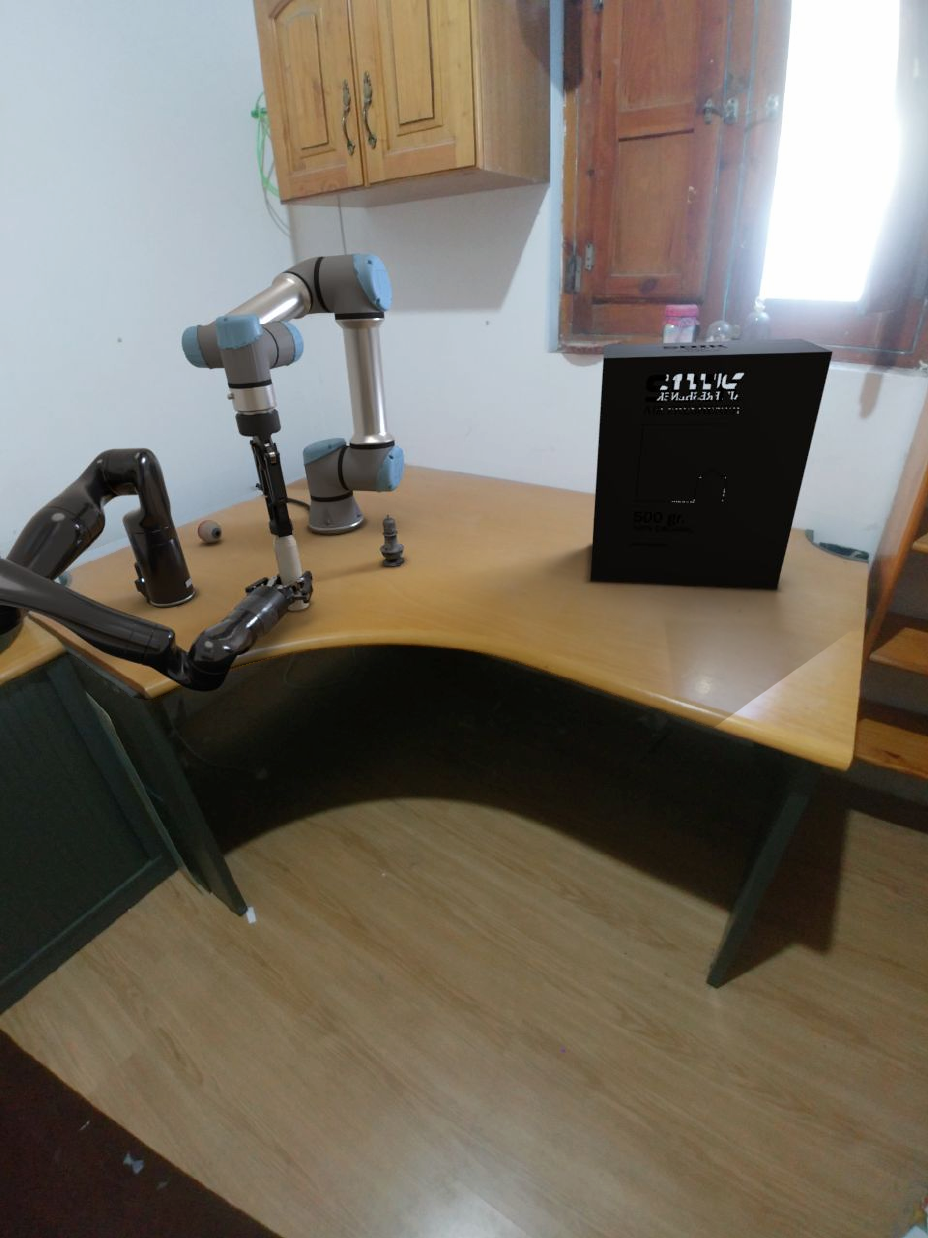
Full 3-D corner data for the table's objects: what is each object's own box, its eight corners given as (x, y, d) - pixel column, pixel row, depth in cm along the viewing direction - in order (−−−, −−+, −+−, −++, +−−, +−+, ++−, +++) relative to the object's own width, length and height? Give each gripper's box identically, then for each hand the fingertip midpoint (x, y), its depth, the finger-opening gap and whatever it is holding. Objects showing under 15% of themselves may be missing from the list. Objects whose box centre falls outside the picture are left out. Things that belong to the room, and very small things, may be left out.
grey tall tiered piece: (401, 567, 143) (396, 519, 137) (378, 566, 144) (371, 518, 138) (408, 556, 148) (403, 510, 142) (385, 556, 149) (379, 509, 143)
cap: (289, 525, 123) (287, 515, 122) (296, 531, 120) (294, 522, 119) (267, 530, 121) (265, 520, 120) (274, 537, 118) (272, 527, 117)
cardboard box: (756, 549, 141) (800, 338, 118) (776, 589, 124) (832, 351, 101) (592, 544, 148) (604, 344, 126) (590, 580, 131) (603, 357, 109)
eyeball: (211, 547, 159) (205, 526, 156) (196, 543, 162) (190, 522, 159) (229, 539, 163) (224, 518, 160) (214, 536, 166) (209, 515, 164)
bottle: (302, 611, 126) (284, 529, 117) (283, 610, 127) (264, 527, 118) (312, 601, 130) (296, 520, 121) (293, 599, 131) (276, 519, 122)
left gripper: (229, 627, 117) (271, 587, 131) (296, 632, 114) (332, 591, 128) (219, 593, 113) (264, 556, 128) (289, 598, 110) (326, 559, 125)
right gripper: (225, 406, 114) (253, 522, 126) (244, 421, 100) (274, 550, 112) (265, 400, 117) (289, 514, 129) (289, 415, 103) (313, 541, 115)
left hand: (298, 574), depth 128 cm, fingers closed on bottle, 4 cm apart
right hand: (282, 531), depth 120 cm, fingers open, 5 cm apart
